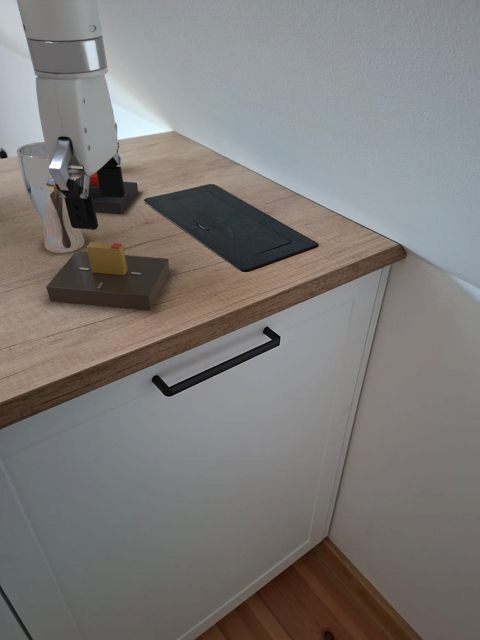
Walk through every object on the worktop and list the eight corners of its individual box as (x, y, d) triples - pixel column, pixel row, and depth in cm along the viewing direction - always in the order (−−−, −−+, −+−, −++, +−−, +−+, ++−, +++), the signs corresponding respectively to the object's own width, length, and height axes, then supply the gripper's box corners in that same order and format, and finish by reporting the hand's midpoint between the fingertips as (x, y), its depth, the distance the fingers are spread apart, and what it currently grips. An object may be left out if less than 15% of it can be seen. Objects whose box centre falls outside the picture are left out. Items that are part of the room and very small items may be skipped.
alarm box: (57, 210, 89) (52, 188, 86) (79, 189, 96) (75, 168, 94) (121, 215, 88) (118, 193, 85) (138, 193, 96) (135, 173, 93)
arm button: (81, 185, 88) (79, 176, 87) (89, 177, 92) (87, 168, 90) (102, 187, 88) (100, 178, 87) (110, 179, 91) (108, 170, 90)
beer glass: (35, 242, 79) (7, 146, 70) (76, 230, 83) (55, 138, 73) (52, 259, 75) (25, 160, 66) (95, 246, 79) (75, 151, 69)
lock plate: (50, 302, 67) (45, 285, 65) (79, 265, 74) (75, 249, 72) (150, 311, 66) (148, 294, 64) (170, 273, 73) (168, 257, 72)
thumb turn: (92, 272, 68) (86, 245, 65) (96, 267, 69) (90, 240, 66) (124, 275, 68) (119, 248, 65) (127, 270, 69) (123, 243, 66)
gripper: (68, 43, 58) (97, 184, 69) (-9, 71, 45) (41, 240, 56) (129, 45, 58) (148, 187, 69) (69, 75, 45) (104, 244, 56)
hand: (100, 211), depth 62 cm, fingers open, 9 cm apart
